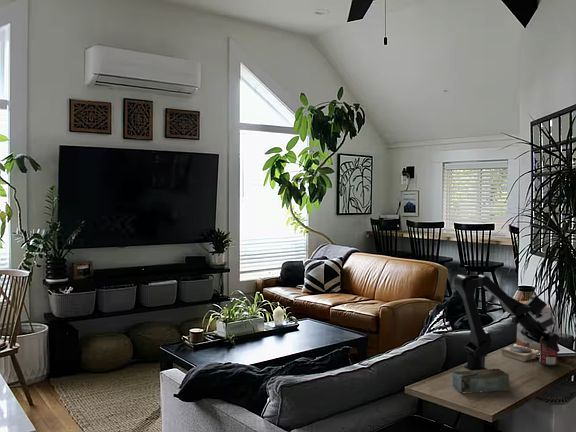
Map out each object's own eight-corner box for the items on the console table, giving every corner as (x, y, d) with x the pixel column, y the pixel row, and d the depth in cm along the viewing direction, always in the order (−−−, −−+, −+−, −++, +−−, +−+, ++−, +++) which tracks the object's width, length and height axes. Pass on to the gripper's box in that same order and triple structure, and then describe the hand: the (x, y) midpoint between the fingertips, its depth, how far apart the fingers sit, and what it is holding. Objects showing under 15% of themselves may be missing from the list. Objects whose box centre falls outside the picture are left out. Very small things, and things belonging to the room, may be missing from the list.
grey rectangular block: (451, 386, 211) (451, 369, 210) (498, 383, 214) (499, 366, 214) (460, 394, 203) (461, 376, 203) (510, 391, 206) (510, 373, 206)
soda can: (557, 367, 232) (558, 338, 231) (539, 365, 234) (540, 337, 233) (556, 362, 238) (557, 334, 237) (538, 360, 240) (539, 332, 239)
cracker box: (515, 346, 260) (517, 301, 259) (525, 344, 263) (526, 300, 261) (539, 354, 248) (541, 308, 246) (549, 353, 250) (551, 306, 248)
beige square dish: (523, 361, 239) (523, 355, 239) (501, 354, 248) (501, 348, 248) (539, 357, 244) (539, 351, 244) (517, 350, 254) (518, 344, 254)
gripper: (556, 314, 224) (579, 340, 227) (527, 304, 243) (549, 328, 245) (537, 335, 223) (561, 360, 226) (510, 322, 242) (533, 346, 245)
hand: (551, 347), depth 236 cm, fingers open, 9 cm apart
